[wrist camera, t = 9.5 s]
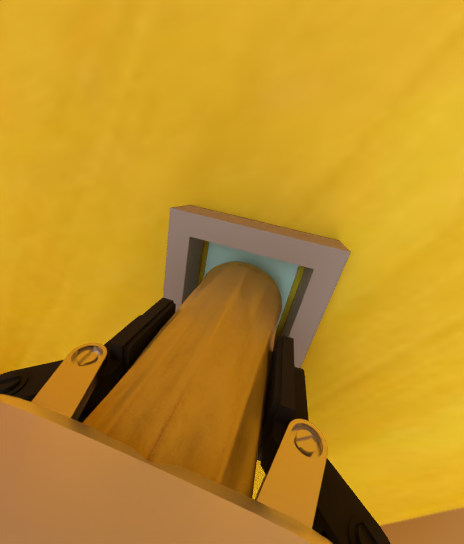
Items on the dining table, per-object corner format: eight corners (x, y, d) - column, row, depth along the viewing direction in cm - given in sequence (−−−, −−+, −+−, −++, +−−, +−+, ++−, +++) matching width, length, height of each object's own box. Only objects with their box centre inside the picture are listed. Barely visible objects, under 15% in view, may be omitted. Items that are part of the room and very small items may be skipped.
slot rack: (263, 426, 23) (260, 459, 20) (169, 390, 24) (154, 415, 22) (339, 240, 15) (350, 251, 12) (190, 205, 16) (170, 207, 14)
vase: (290, 269, 14) (312, 1332, 1) (273, 344, 16) (211, 955, 3) (202, 253, 15) (-337, 639, 2) (197, 325, 17) (-72, 722, 4)
